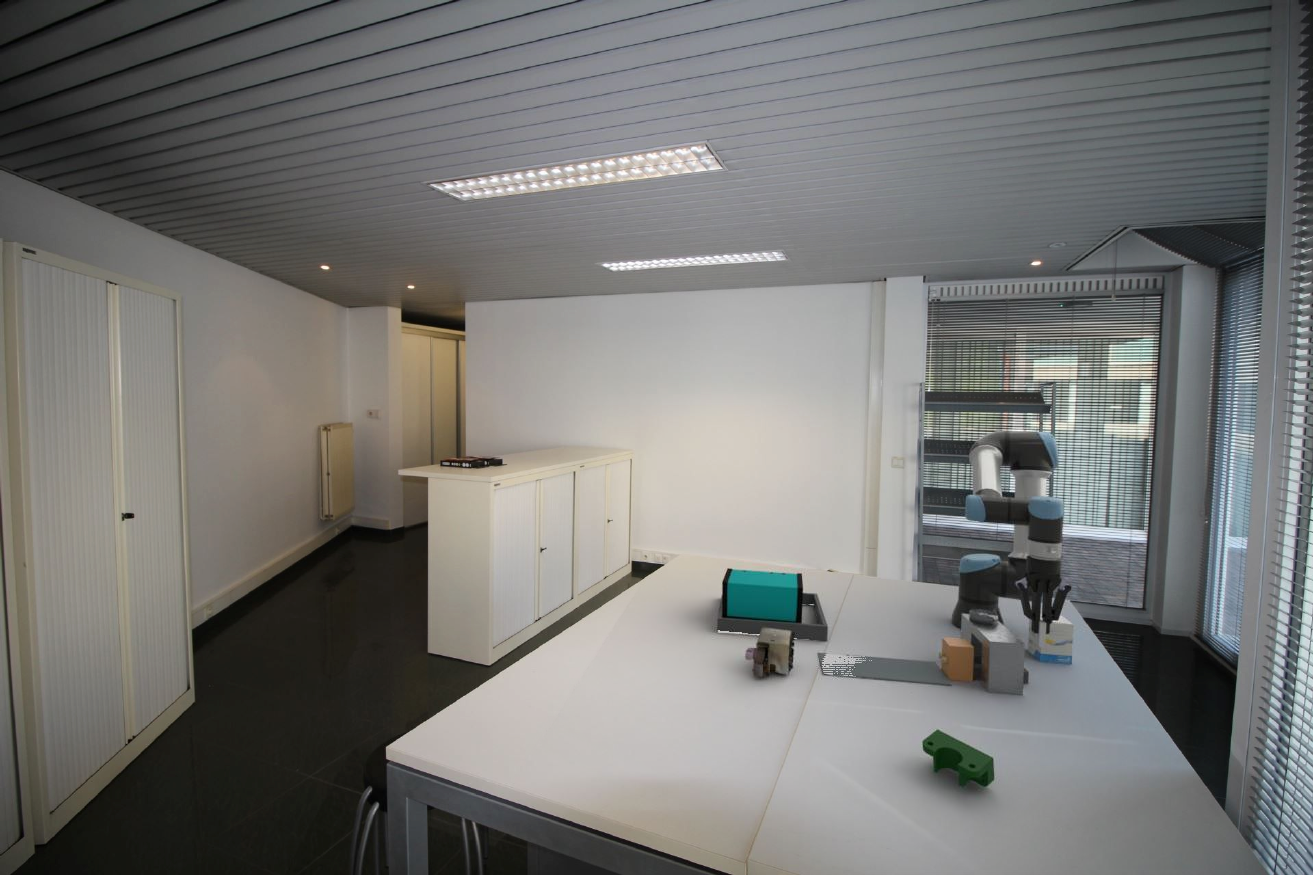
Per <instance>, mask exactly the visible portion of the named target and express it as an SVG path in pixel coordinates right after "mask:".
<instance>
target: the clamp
mask: <svg viewBox="0 0 1313 875" xmlns="http://www.w3.org/2000/svg"><path fill="white" fill-rule="evenodd" d="M922 750H923V752H924V753H925V754H927V755H929V756H931V757H932V760H933V772H934V773H936V774H937V773H938V772H939V771H940V770H943V769H944V770H945V769H950V770H953V771H954V772H956V773H957V774H958V786H959V787H960V788H963V787H964V786H966V785H967V784H968V783H969V782H970V781H972V782H974V783H975V784H977V785H979V786H981V787H983V788H986V787H988V786H990V785H991V784H992V782H994V781H995V762H994V760H995V759H994V757H993V756H990V755H989V754H986V753H985V752H983V751H981V750H979V749H977V748H975V747H973V746H971V745H969V744H967V743H965V742H963V741H961V740H959V739H957V738H955V737H953V736H951V735H950V734H948V733H946V732H943V731H941V730H939V729H936V730H935V731H933V732H932V733H931V734H930V735H928V736H927V737H925V739H923V740H922Z"/></svg>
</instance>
